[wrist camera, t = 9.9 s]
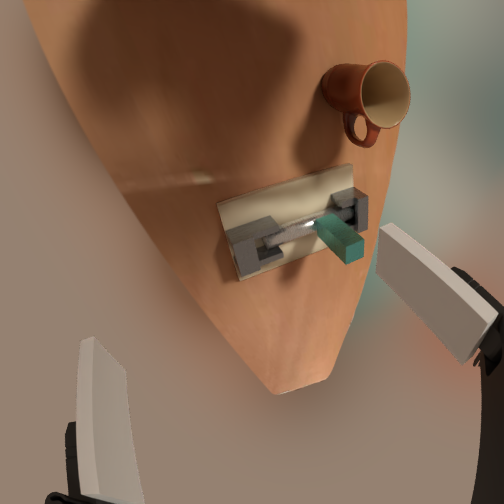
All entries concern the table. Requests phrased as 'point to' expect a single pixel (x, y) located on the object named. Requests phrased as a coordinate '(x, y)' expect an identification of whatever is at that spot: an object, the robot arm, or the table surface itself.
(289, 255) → the board
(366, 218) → the socket
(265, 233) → the bracket
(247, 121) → the table surface
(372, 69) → the mug
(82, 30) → the table surface
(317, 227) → the teal and grey t-piece
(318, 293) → the table surface
